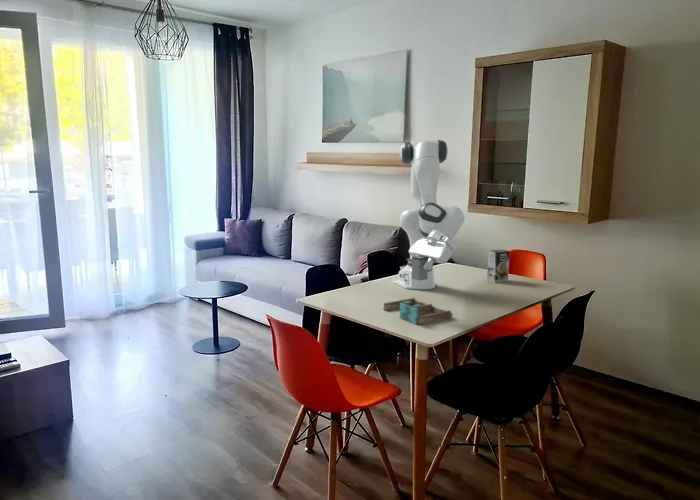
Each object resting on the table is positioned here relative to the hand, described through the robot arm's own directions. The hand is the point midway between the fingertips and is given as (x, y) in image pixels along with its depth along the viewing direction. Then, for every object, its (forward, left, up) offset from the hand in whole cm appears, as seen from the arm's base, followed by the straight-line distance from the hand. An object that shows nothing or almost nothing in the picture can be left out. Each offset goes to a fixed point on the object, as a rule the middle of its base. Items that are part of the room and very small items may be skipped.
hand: (418, 267), depth 207 cm
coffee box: (-25, +75, -20) cm, 81 cm away
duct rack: (-2, +1, -20) cm, 20 cm away
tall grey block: (0, +1, -5) cm, 5 cm away
